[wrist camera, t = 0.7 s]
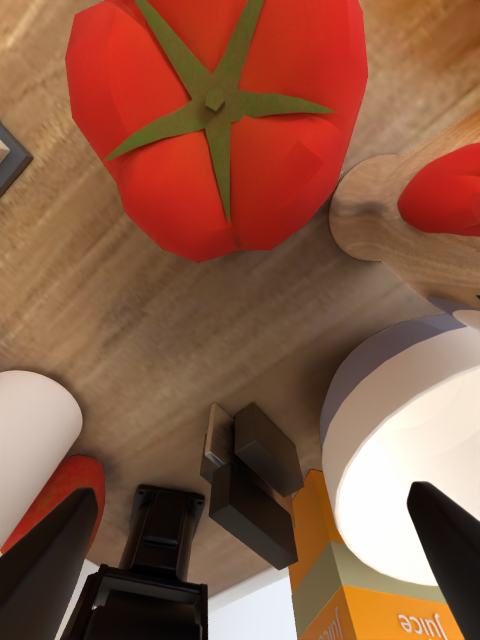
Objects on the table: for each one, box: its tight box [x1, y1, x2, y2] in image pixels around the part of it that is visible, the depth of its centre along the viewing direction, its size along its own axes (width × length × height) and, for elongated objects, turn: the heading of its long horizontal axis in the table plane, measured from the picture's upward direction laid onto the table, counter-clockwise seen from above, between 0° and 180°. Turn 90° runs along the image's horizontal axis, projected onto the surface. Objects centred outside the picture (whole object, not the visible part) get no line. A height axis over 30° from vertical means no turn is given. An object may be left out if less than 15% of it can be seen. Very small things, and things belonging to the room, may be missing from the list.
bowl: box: [319, 314, 480, 586], centre depth 18 cm, size 16×16×10 cm
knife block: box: [200, 403, 304, 498], centre depth 23 cm, size 6×5×4 cm
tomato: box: [65, 0, 368, 263], centre depth 12 cm, size 11×12×9 cm
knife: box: [205, 403, 298, 570], centre depth 21 cm, size 10×2×8 cm, turn 39°
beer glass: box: [329, 108, 480, 332], centre depth 11 cm, size 7×7×15 cm
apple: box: [0, 455, 105, 555], centre depth 22 cm, size 6×6×8 cm
